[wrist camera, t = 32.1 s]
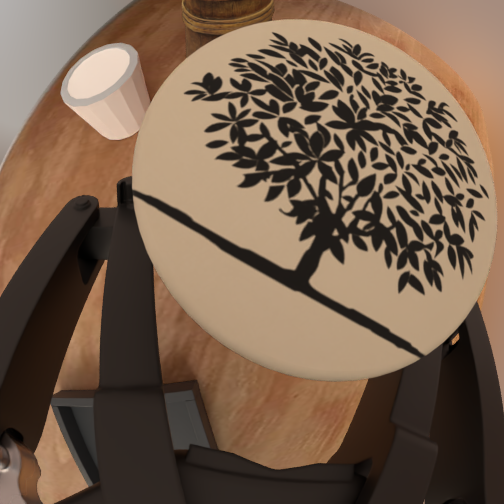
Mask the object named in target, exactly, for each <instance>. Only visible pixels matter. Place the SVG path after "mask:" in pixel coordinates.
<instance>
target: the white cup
mask: <svg viewBox="0 0 504 504" xmlns="http://www.w3.org/2000/svg"><path fill="white" fill-rule="evenodd" d="M61 96H62V98H63V101H64V103H66V104H67V105H68V106H69V107H70V108H71V109H72V110H74V111H75V112H76V113H77V114H78V115H79V116H81V117H82V118H83V119H84V120H85V121H86V122H87V123H89V124H90V125H91V126H92V127H93V128H94V129H95V130H97V131H98V132H99V133H100V134H101V135H102V136H104V137H106V138H108V139H110V140H121V139H124V138H127V137H130V136H132V135H133V134H135V133H136V132H138V131H139V129H140V126H141V124H142V121H143V119H144V116H145V113H146V111H147V109H148V107H149V105H150V103H151V102H150V98H149V95H148V91H147V87H146V84H145V80H144V76H143V72H142V68H141V64H140V60H139V57H138V53H137V51H136V50H135V49H134V48H133V47H132V46H131V45H127V44H123V43H116V44H108V45H105V46H103V47H100V48H97V49H95V50H93V51H91V52H90V53H88V54H87V55H85V56H84V57H82V58H81V59H80V60H79V61H78V62H77V63H76V64H75V65H74V66H73V67H72V68H71V69H70V70H69V72H68V74H67V75H66V77H65V79H64V81H63V83H62V88H61Z"/></svg>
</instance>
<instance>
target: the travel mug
mask: <svg viewBox="0 0 504 504" xmlns="http://www.w3.org/2000/svg"><path fill="white" fill-rule="evenodd" d="M132 191H133V201H134V209H135V214H136V218H137V222H138V227H139V231H140V234H141V236H142V239H143V242H144V245H145V248H146V250H147V253H148V255H149V257H150V259H151V261H152V263H153V265H154V267H155V269H156V271H157V273H158V275H159V276H160V278H161V280H162V281H163V283H164V284H165V286H166V287H167V289H168V290H169V292H170V293H171V295H172V296H173V297H174V298H175V300H176V301H177V302H178V303H179V305H180V306H181V307H182V308H183V309H184V311H185V312H186V313H187V314H188V315H189V316H190V317H191V318H192V319H193V320H194V321H195V322H196V323H197V324H198V325H199V326H200V327H201V328H202V329H204V330H205V331H206V332H207V333H208V334H210V335H211V336H212V337H214V338H215V339H216V340H217V341H219V342H220V343H221V344H223V345H224V346H226V347H227V348H229V349H230V350H232V351H234V352H235V353H237V354H239V355H240V356H242V357H244V358H246V359H248V360H250V361H252V362H254V363H256V364H259V365H261V366H263V367H265V368H268V369H271V370H274V371H277V372H280V373H283V374H286V375H290V376H294V377H299V378H304V379H310V380H319V381H334V382H336V381H355V380H362V379H368V378H373V377H378V376H381V375H384V374H388V373H391V372H394V371H397V370H399V369H401V368H403V367H406V366H408V365H410V364H412V363H414V362H416V361H417V360H419V359H421V358H423V357H424V356H426V355H427V354H429V353H430V352H432V351H433V350H434V349H436V348H437V347H438V346H439V345H441V344H442V343H443V342H444V341H445V340H446V339H447V338H448V337H449V336H450V335H451V334H452V333H453V332H454V331H455V330H456V329H457V328H458V327H459V326H460V324H461V323H462V322H463V321H464V319H465V318H466V317H467V315H468V314H469V312H470V311H471V309H472V308H473V306H474V305H475V303H476V301H477V299H478V297H479V295H480V293H481V291H482V289H483V287H484V284H485V282H486V279H487V277H488V274H489V271H490V267H491V263H492V259H493V255H494V249H495V244H496V235H497V204H496V203H497V202H496V194H495V187H494V182H493V177H492V173H491V169H490V166H489V162H488V159H487V156H486V153H485V151H484V148H483V146H482V144H481V141H480V139H479V137H478V135H477V133H476V131H475V129H474V127H473V125H472V123H471V122H470V120H469V118H468V117H467V115H466V113H465V112H464V111H463V109H462V108H461V106H460V105H459V103H458V102H457V101H456V99H455V98H454V97H453V96H452V94H451V93H450V92H449V91H448V90H447V88H446V87H445V86H444V85H443V84H442V83H441V82H440V81H439V80H438V79H437V78H436V77H435V76H434V75H433V74H432V73H431V72H429V71H428V70H427V69H426V68H425V67H424V66H423V65H421V64H420V63H419V62H417V61H416V60H415V59H414V58H412V57H411V56H409V55H408V54H406V53H405V52H403V51H402V50H400V49H398V48H397V47H395V46H393V45H392V44H390V43H388V42H386V41H384V40H382V39H380V38H378V37H376V36H373V35H371V34H368V33H366V32H363V31H361V30H358V29H354V28H351V27H348V26H344V25H340V24H335V23H331V22H324V21H317V20H304V19H288V20H276V21H268V22H263V23H257V24H253V25H250V26H246V27H242V28H240V29H237V30H234V31H231V32H229V33H226V34H224V35H222V36H220V37H218V38H216V39H214V40H212V41H211V42H209V43H207V44H206V45H204V46H202V47H201V48H199V49H198V50H197V51H195V52H194V53H193V54H191V55H190V56H189V57H187V58H186V59H185V60H184V61H183V62H182V63H181V64H180V65H179V66H178V67H177V68H176V69H175V70H174V71H173V72H172V73H171V74H170V75H169V77H168V78H167V79H166V80H165V81H164V83H163V84H162V86H161V87H160V89H159V90H158V91H157V93H156V94H155V96H154V98H153V100H152V102H151V103H150V105H149V107H148V109H147V111H146V113H145V116H144V119H143V121H142V124H141V126H140V129H139V133H138V137H137V141H136V145H135V150H134V158H133V166H132Z"/></svg>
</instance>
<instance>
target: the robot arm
mask: <svg viewBox="0 0 504 504" xmlns="http://www.w3.org/2000/svg"><path fill="white" fill-rule="evenodd" d="M117 202H118V205H117V207H114V208H99V202H98V199H97V198H95V197H94V196H89V195H87V196H85V195H82V196H78V197H76V198H74V199H72V200H70V201H69V202H68V203H67V204H66V205H65V207H64V208H63V209H62V210H61V211H60V213H59V214H58V215H57V216H56V217H55V219H54V220H53V221H52V222H51V224H50V225H49V226H48V228H47V229H46V230H45V231H44V233H43V234H42V235H41V237H40V238H39V239H38V241H37V242H36V243H35V245H34V246H33V248H32V249H31V250H30V252H29V253H28V255H27V256H26V258H25V259H24V260H23V262H22V263H21V265H20V266H19V268H18V269H17V271H16V272H15V274H14V276H13V277H12V279H11V280H10V282H9V284H8V285H7V287H6V288H5V290H4V292H3V293H2V295H1V297H0V504H43V503H42V502H41V500H40V498H39V495H38V493H37V482H38V479H39V478H40V476H41V470H40V467H39V465H38V462H37V459H36V457H35V455H34V452H35V450H36V448H37V446H38V443H39V441H40V438H41V436H42V432H43V429H44V425H45V422H46V418H47V414H48V410H49V406H50V403H51V399H52V395H53V392H54V388H55V385H56V382H57V378H58V375H59V372H60V369H61V366H62V363H63V360H64V357H65V354H66V351H67V348H68V346H69V343H70V340H71V337H72V335H73V332H74V330H75V327H76V324H77V322H78V319H79V317H80V314H81V312H82V310H83V307H84V305H85V302H86V300H87V298H88V295H89V293H90V291H91V289H92V286H93V284H94V282H95V280H96V278H97V275H98V273H99V271H100V269H101V267H102V265H103V263H104V261H105V260H108V262H107V270H106V277H105V286H104V295H103V306H102V319H101V335H100V379H99V387H98V388H97V389H96V390H95V393H94V398H93V414H94V431H95V443H96V453H97V462H98V470H99V477H100V481H99V482H97V483H95V484H94V485H92V486H90V487H88V488H86V489H84V490H82V491H80V492H78V493H76V494H74V495H72V496H70V497H67V498H65V499H63V500H61V501H59V502H57V503H54V504H423V502H424V499H425V504H504V412H503V404H502V397H501V391H500V386H499V380H498V375H497V370H496V366H495V362H494V357H493V353H492V349H491V345H490V341H489V338H488V334H487V331H486V327H485V324H484V321H483V317H482V314H481V311H480V308H479V305H478V303H477V301H476V303H475V305H474V306H473V308H472V309H471V311H470V312H469V314H468V315H467V317H466V318H465V319H464V321H463V322H462V323H461V324H460V326H459V327H458V328H457V329H456V330H455V331H454V332H453V333H452V334H451V335H450V336H449V337H448V338H447V339H446V340H445V341H444V342H443V343H442V344H441V345H439V346H438V347H437V348H436V349H434V350H433V351H432V352H430V353H429V354H427V355H426V356H424V357H423V358H421V359H419V360H417V361H416V362H414V363H412V364H410V365H408V366H406V367H403V368H401V369H399V370H397V371H394V372H391V373H388V374H384V375H381V376H378V377H373V378H369V379H368V382H367V385H366V387H365V390H364V393H363V395H362V398H361V400H360V403H359V405H358V408H357V410H356V413H355V415H354V417H353V420H352V422H351V424H350V427H349V429H348V431H347V433H346V435H345V438H344V440H343V442H342V444H341V446H340V448H339V449H338V451H337V452H336V453H335V454H334V455H333V456H332V457H331V458H330V459H329V461H328V462H327V463H317V464H312V465H306V466H301V467H294V468H288V469H281V470H275V469H271V468H268V467H266V466H263V465H260V464H258V463H255V462H253V461H250V460H248V459H245V458H243V457H241V456H238V455H236V454H234V453H230V452H225V451H220V450H215V449H211V448H207V447H202V446H198V445H194V444H191V443H190V445H189V449H188V450H187V449H176V450H174V447H173V442H172V437H171V432H170V426H169V421H168V415H167V409H166V402H165V395H164V388H163V381H162V373H161V365H160V356H159V347H158V336H157V324H156V311H155V294H154V271H153V263H152V261H151V259H150V257H149V255H148V253H147V250H146V248H145V245H144V242H143V239H142V236H141V234H140V231H139V227H138V222H137V218H136V214H135V209H134V201H133V191H132V176H130V177H126V178H123V179H122V180H120V181H119V182H118V183H117ZM458 333H459V340H458V341H457V342H456V343H455V344H454V345H452V339H453V338H454V337H455V336H456V335H457V334H458ZM429 433H430V434H429Z"/></svg>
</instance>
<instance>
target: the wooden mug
mask: <svg viewBox="0 0 504 504" xmlns="http://www.w3.org/2000/svg"><path fill="white" fill-rule="evenodd" d="M273 13H274V2H273V0H183V1H182V18H183V22H184V23H185V28H186V58H187V57H189V56H190V55H191V54H193V53H194V52H195V51H197V50H198V49H199V48H201V47H202V46H204V45H206V44H207V43H209V42H211V41H212V40H214V39H216V38H218V37H220V36H222V35H224V34H226V33H229V32H231V31H234V30H237V29H240V28H242V27H246V26H250V25H253V24H257V23H263V22H268V21H272V16H273Z"/></svg>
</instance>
